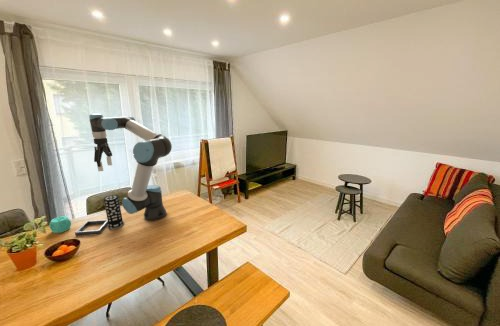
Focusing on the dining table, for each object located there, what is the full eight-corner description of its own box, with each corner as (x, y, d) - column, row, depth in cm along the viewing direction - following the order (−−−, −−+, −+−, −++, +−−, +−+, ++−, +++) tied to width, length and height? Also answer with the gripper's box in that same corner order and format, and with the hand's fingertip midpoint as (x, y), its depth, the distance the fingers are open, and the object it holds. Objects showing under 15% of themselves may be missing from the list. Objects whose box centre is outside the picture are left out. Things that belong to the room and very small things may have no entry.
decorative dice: (58, 234, 138) (55, 223, 136) (50, 231, 141) (47, 220, 139) (72, 227, 145) (69, 217, 143) (64, 225, 148) (62, 215, 146)
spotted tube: (116, 228, 143) (111, 201, 138) (105, 227, 145) (100, 199, 139) (125, 222, 151) (121, 195, 146) (115, 220, 153) (110, 194, 147)
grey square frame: (109, 222, 152) (109, 219, 151) (100, 233, 139) (99, 230, 138) (87, 224, 150) (87, 220, 149) (75, 236, 136) (74, 232, 136)
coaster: (126, 221, 154) (126, 220, 154) (121, 228, 144) (121, 228, 144) (111, 222, 152) (111, 221, 152) (104, 230, 143) (104, 229, 142)
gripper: (102, 135, 157) (108, 163, 162) (83, 141, 133) (90, 173, 139) (114, 134, 158) (118, 162, 164) (96, 140, 134) (103, 173, 140)
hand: (105, 168), depth 151 cm, fingers open, 13 cm apart
